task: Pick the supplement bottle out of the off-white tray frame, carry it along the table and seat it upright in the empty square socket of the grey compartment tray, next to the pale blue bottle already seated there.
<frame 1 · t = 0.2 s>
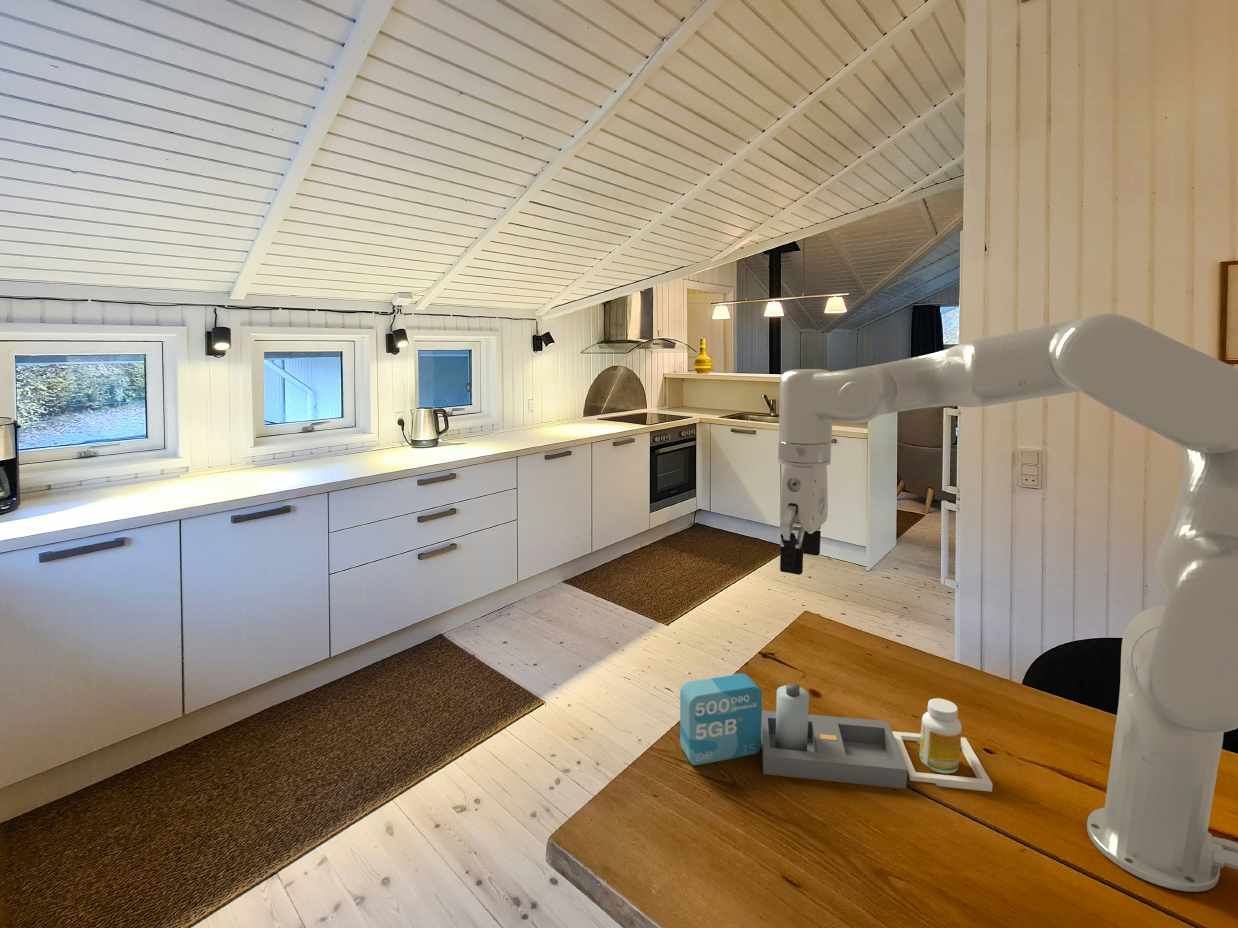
hand: (800, 562, 95), 31 cm above the table, fingers open, 9 cm apart
supplement bottle: (938, 764, 95), resting in tray frame
grey compartment tray: (827, 757, 97), on the table
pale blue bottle: (790, 751, 98), resting on grey compartment tray
data package: (720, 754, 98), on the table
tray frame: (938, 762, 95), on the table
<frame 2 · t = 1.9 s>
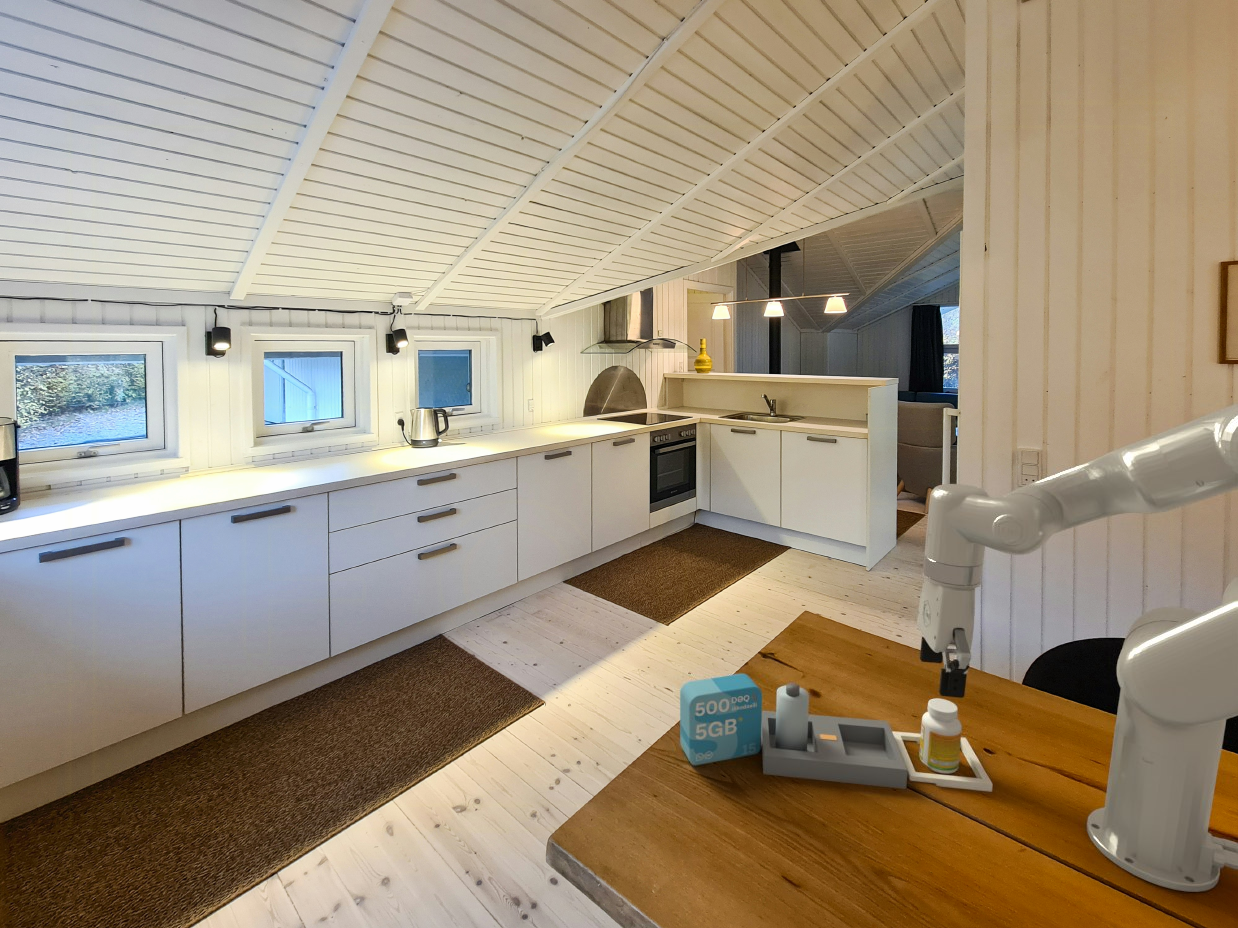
hand: (940, 677, 93), 14 cm above the table, fingers open, 9 cm apart
nothing on the table moved.
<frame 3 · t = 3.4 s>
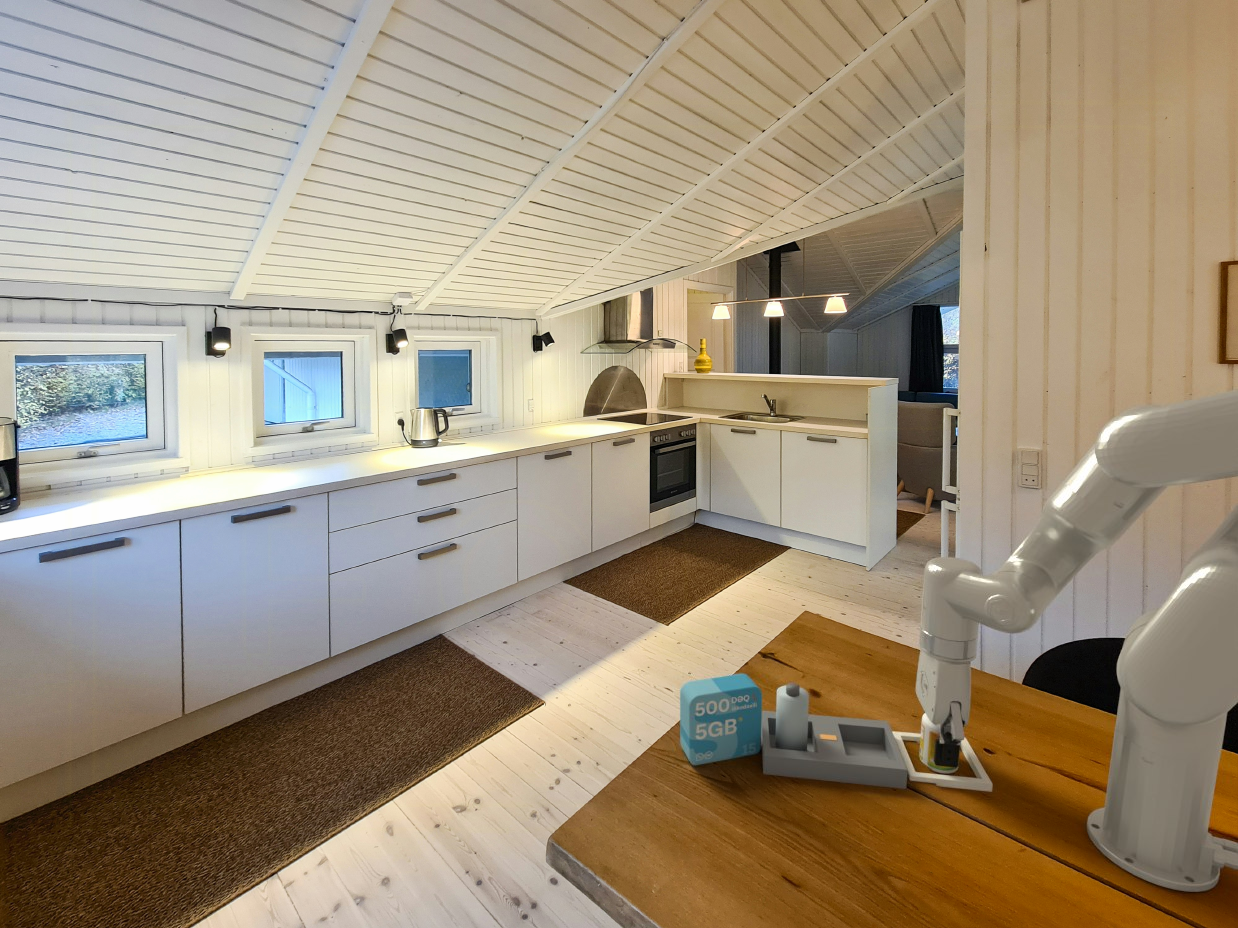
hand: (939, 751, 95), 2 cm above the table, fingers closed on supplement bottle, 5 cm apart
supplement bottle: (938, 764, 95), resting in tray frame, touching gripper
everything else where it was.
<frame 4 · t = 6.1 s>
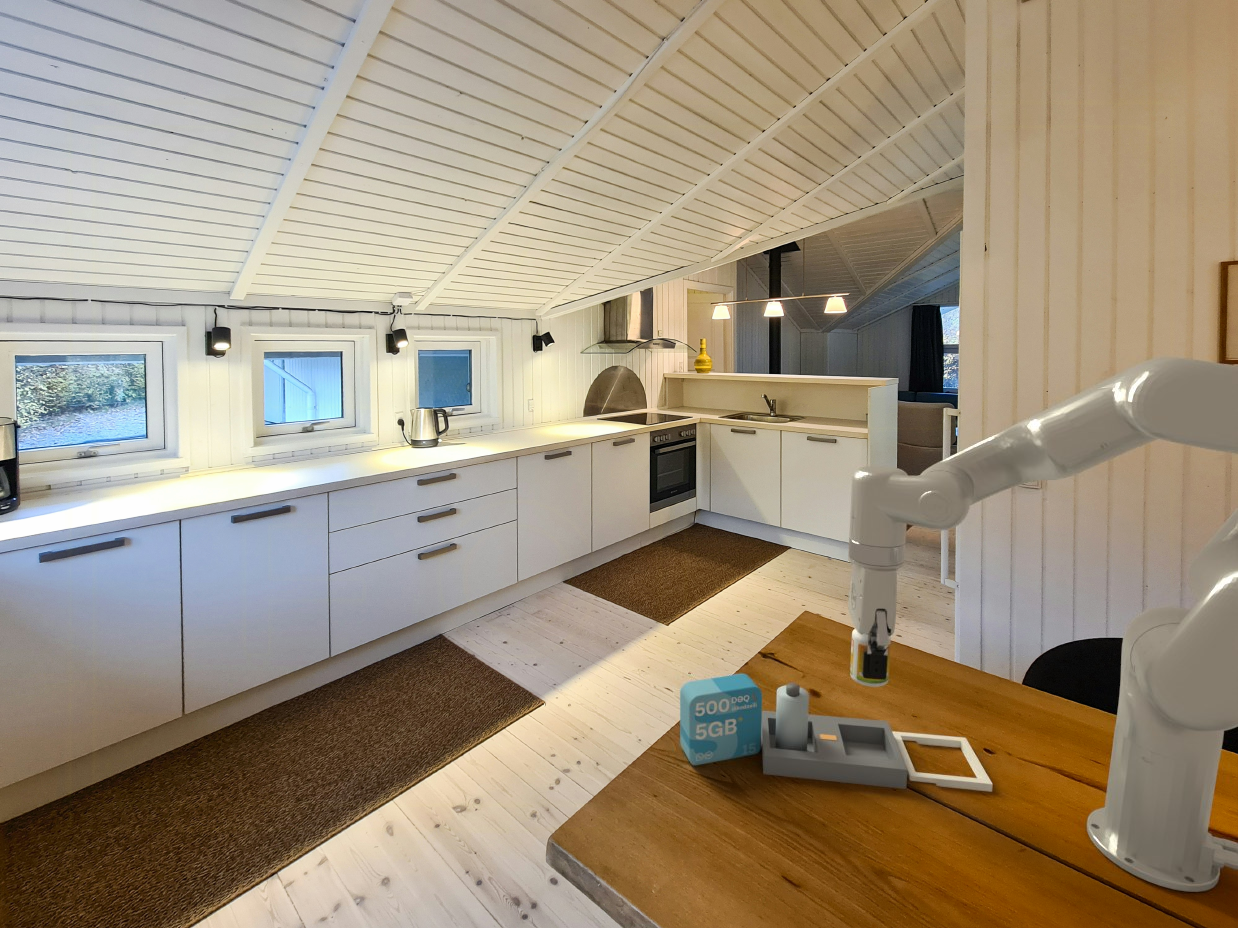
hand: (869, 666, 93), 16 cm above the table, fingers closed on supplement bottle, 5 cm apart
supplement bottle: (868, 679, 93), point 14 cm above the table, touching gripper
everything else where it was.
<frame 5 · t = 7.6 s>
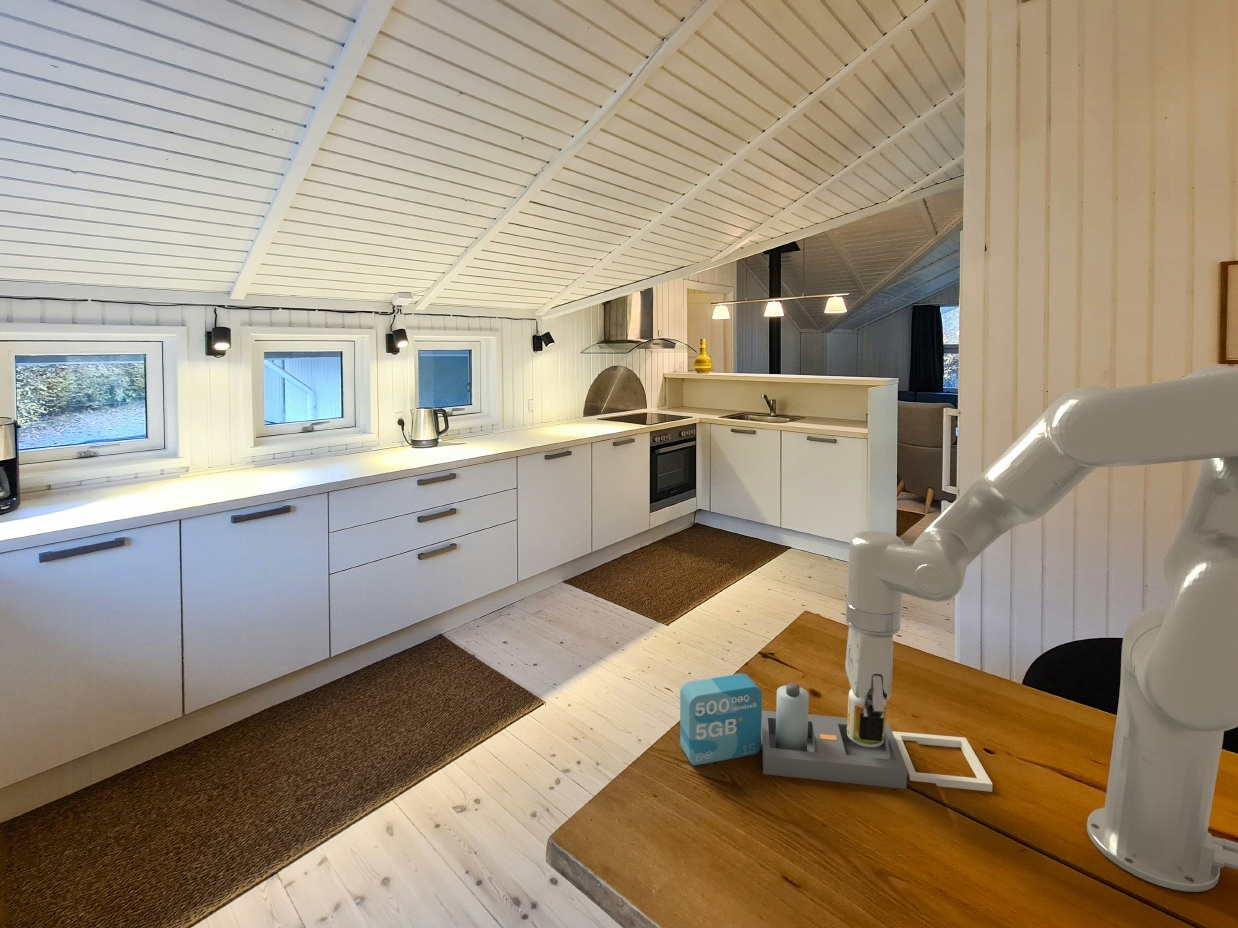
hand: (866, 725, 95), 6 cm above the table, fingers closed on supplement bottle, 5 cm apart
supplement bottle: (865, 738, 95), point 4 cm above the table, touching gripper
everything else where it was.
when the fingers open (4 cm above the table, at t = 8.8 s): supplement bottle drops 2 cm, resting on grey compartment tray.
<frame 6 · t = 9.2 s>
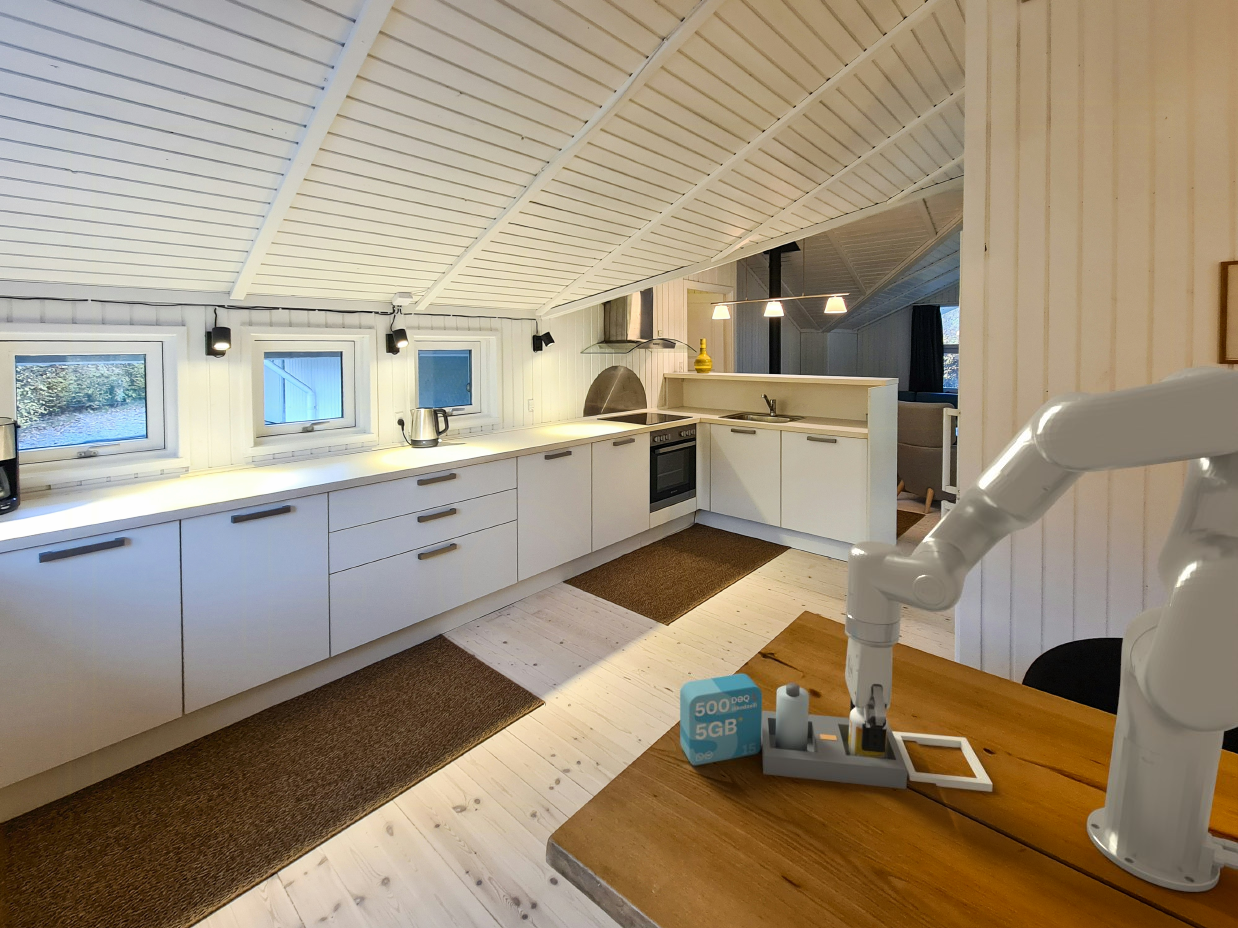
hand: (866, 730, 95), 5 cm above the table, fingers open, 9 cm apart
supplement bottle: (866, 759, 96), resting on grey compartment tray
everything else where it was.
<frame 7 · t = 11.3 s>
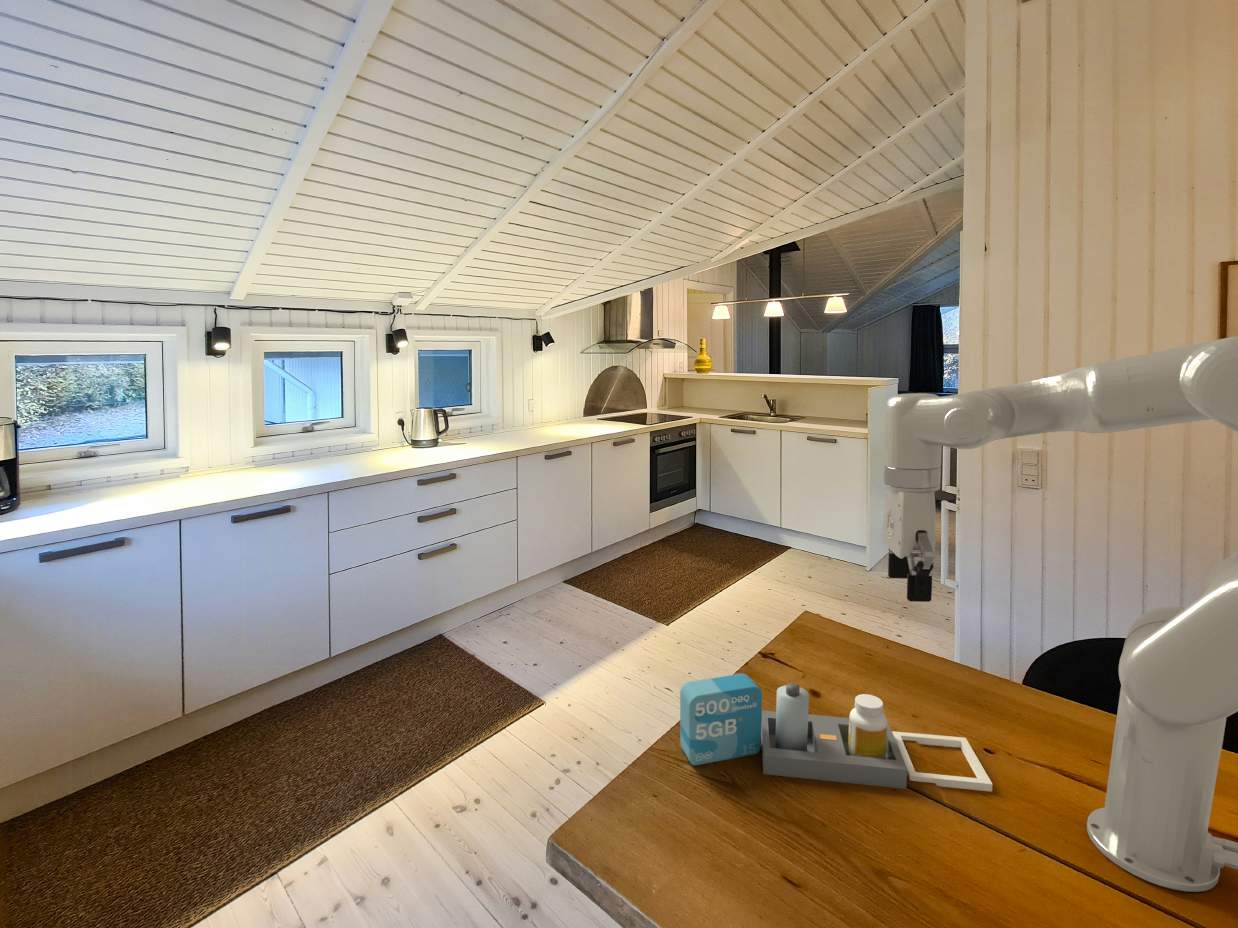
hand: (908, 588, 94), 27 cm above the table, fingers open, 9 cm apart
nothing on the table moved.
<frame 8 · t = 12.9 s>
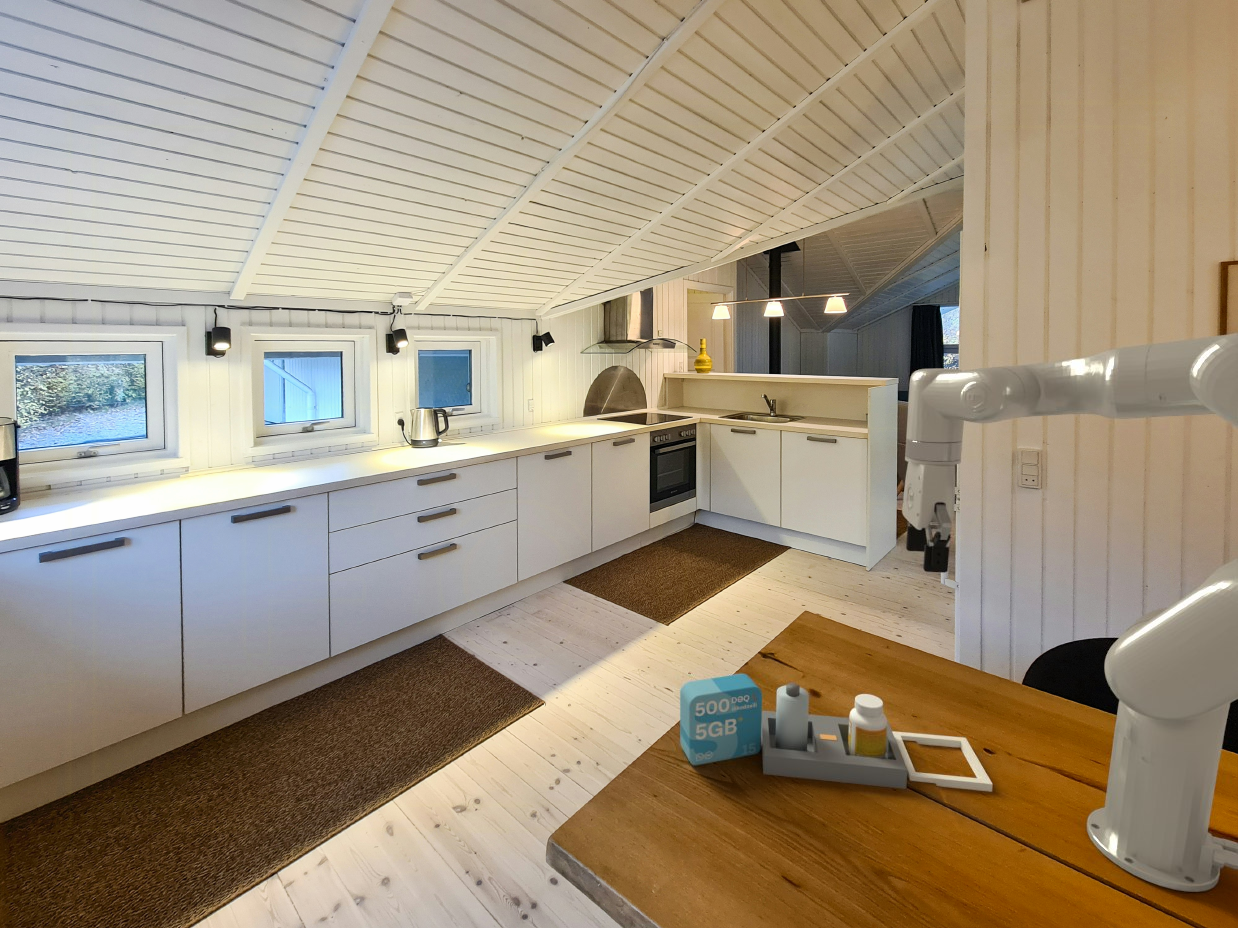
hand: (925, 560, 96), 30 cm above the table, fingers open, 9 cm apart
nothing on the table moved.
at the end: supplement bottle 0.2 cm from the target spot, resting on grey compartment tray; supplement bottle tilted 0°; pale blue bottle moved 0.0 cm from its start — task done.
